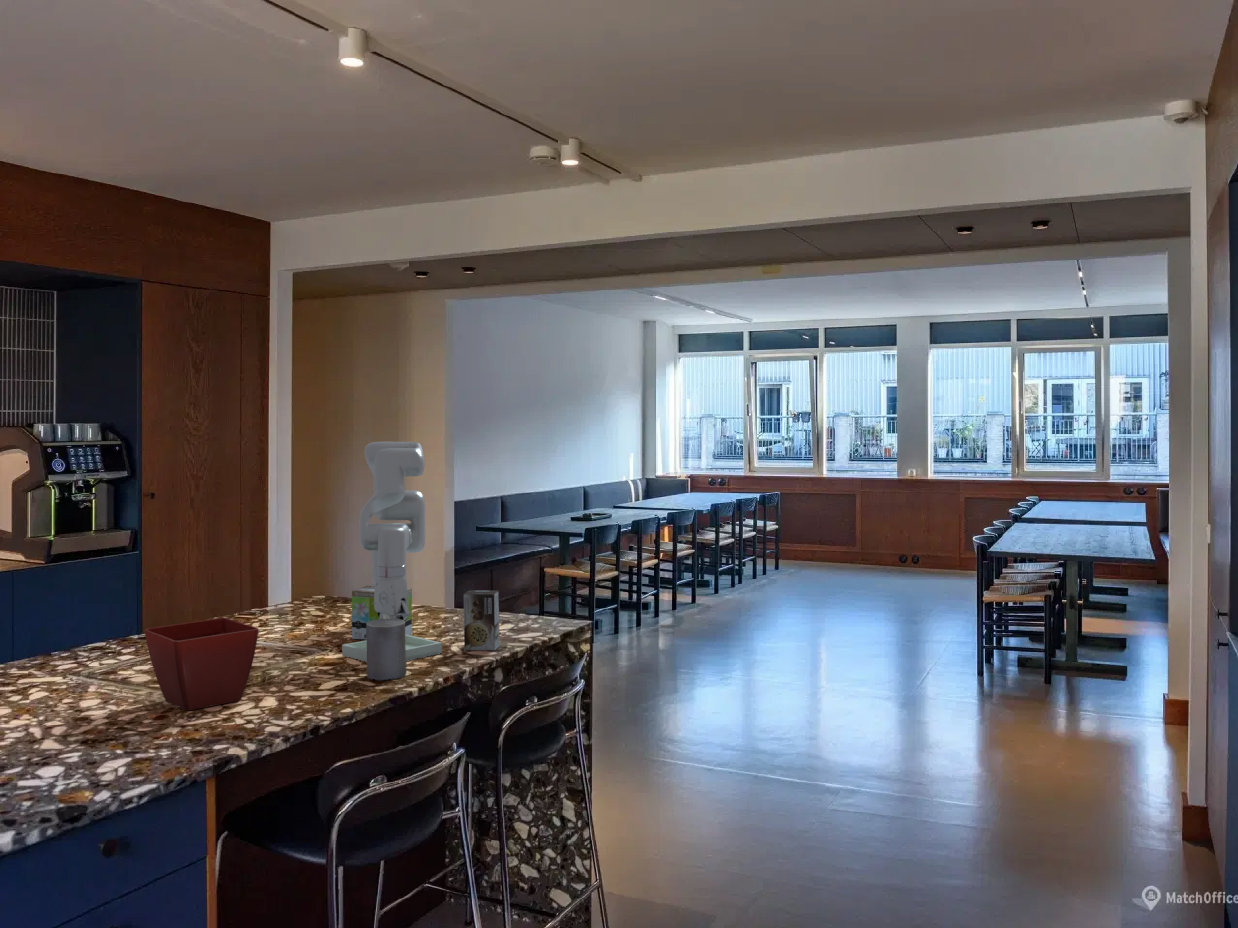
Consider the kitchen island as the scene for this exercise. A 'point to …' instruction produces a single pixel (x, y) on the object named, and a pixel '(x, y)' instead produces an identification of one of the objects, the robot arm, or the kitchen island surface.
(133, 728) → the kitchen island surface
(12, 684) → the kitchen island surface
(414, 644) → the tray
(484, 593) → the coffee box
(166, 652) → the plant pot
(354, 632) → the tea box
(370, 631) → the pillar candle
